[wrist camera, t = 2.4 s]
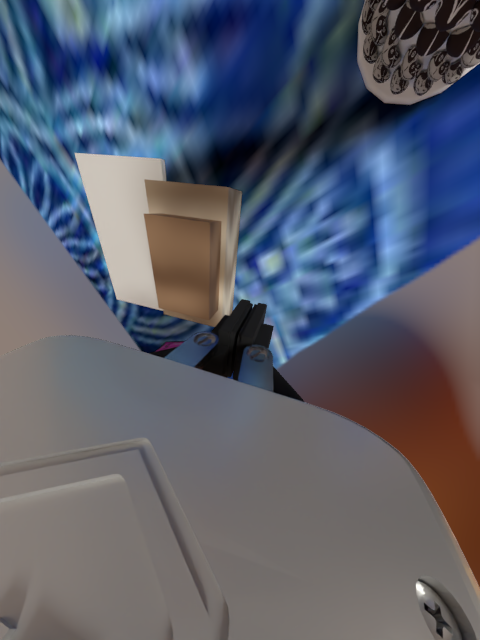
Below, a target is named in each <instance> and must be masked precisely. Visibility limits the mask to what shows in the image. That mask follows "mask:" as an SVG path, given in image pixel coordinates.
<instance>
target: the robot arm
mask: <svg viewBox="0 0 480 640" xmlns="http://www.w3.org/2000/svg"><path fill="white" fill-rule="evenodd" d="M252 306H253V304H251V303H250V301H248V300H243V299H242V300H241V301H240V302H239V304H238V305H237V306H236V308H235V309H234V310H233V312H232V313H231V314H230V316H229V315H224V316H223V318H222V319H221V320H220V321H219V323H218V324H217V325H216V326H215V328H214V329H213V330H212V331H211V332H206V331H204V332H198V333H196V334H194V335H193V336H191V337H190V338H189V339H187V340H186V341H185V342H184V343H182V344H181V345H180V346H178V347H174V348H169V349H165V350H160V351H156V352H151V353H146V352H142V351H139V350H136V349H132V348H129V347H126V346H123V345H119V344H116V343H112V342H108V341H104V340H101V339H96V338H91V337H84V336H70V335H69V336H54V337H47V338H44V339H40V340H38V341H35V342H32V343H30V344H27V345H25V346H23V347H20V348H18V349H15V350H13V351H11V352H9V353H6V354H4V355H2V356H0V640H480V588H479V586H478V583H477V582H476V580H475V578H474V575H473V573H472V571H471V569H470V567H469V565H468V563H467V561H466V559H465V557H464V555H463V553H462V551H461V549H460V546H459V545H458V542H457V540H456V538H455V537H454V535H453V533H452V531H451V529H450V527H449V525H448V523H447V521H446V519H445V517H444V515H443V514H442V512H441V510H440V508H439V506H438V505H437V503H436V501H435V499H434V497H433V496H432V494H431V492H430V490H429V489H428V487H427V486H426V484H425V483H424V481H423V479H422V478H421V477H420V475H419V474H418V472H417V471H416V469H415V468H414V467H413V466H412V465H411V463H410V462H409V461H408V460H407V459H406V458H405V457H404V456H403V455H402V454H401V453H400V452H399V451H398V450H397V449H395V448H394V447H393V446H392V445H390V444H389V443H388V442H386V441H385V440H384V439H382V438H381V437H379V436H378V435H376V434H375V433H373V432H371V431H370V430H368V429H367V428H365V427H363V426H361V425H359V424H358V423H356V422H354V421H351V420H350V419H348V418H345V417H343V416H341V415H338V414H336V413H334V412H331V411H328V410H325V409H322V408H320V407H316V406H314V405H311V404H308V403H305V402H304V401H303V399H302V398H301V397H300V396H299V395H298V394H297V392H296V391H295V390H294V389H293V388H292V387H291V386H290V385H289V384H288V383H287V381H286V380H285V379H284V378H283V377H282V376H281V375H280V373H279V372H278V371H277V370H276V369H275V368H274V367H273V355H272V353H271V351H270V350H269V349H268V348H269V344H270V340H271V336H272V331H273V327H274V326H271V325H267V324H263V323H264V318H265V313H266V308H267V305H266V304H261V303H258V305H256V304H255V305H254V307H253V309H252ZM233 371H234V372H233ZM232 373H233V378H234V379H229V378H227V377H231V375H232Z"/></svg>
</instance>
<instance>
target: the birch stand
mask: <svg viewBox="0 0 480 640" xmlns="http://www.w3.org/2000/svg"><path fill="white" fill-rule="evenodd" d="M144 181H145V188H146V195H147V202H148V208H149V214H156V213H163V214H171V215H178V216H186V217H193V218H201V219H208V220H216V221H222V223H221V251H220V279H219V306H218V311H217V312H216V313H215V314H214V315H213V317H212V318H211V319H210V320H205V319H201V318H197V317H193V316H189V315H185V314H181V313H177V312H173V311H169V310H165V309H163V311H164V314H166V315H170V316H174V317H178V318H182V319H185V320H189V321H193V322H197V323H201V324H205V325H209V326H213V327H215V326H216V325H217V324H218V323H219V321H220V320H221V319H222V318H223V316H224V315H229V316H230V314H231V313H232V308H233V296H234V284H235V272H236V260H237V248H238V236H239V224H240V212H241V200H242V191H239V190H236V189H233V188H230V187H222V186H211V185H200V184H189V183H179V182H168V181H157V180H147V179H144Z"/></svg>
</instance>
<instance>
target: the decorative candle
mask: <svg viewBox="0 0 480 640" xmlns="http://www.w3.org/2000/svg"><path fill="white" fill-rule="evenodd" d="M357 63H358V66H359V69H360V72H361V74H362V77H363V80H364V83H365V86H366V89H368V90H369V91H370V92H371V93H373V94H374V95H375V96H376V97H378V98H379V99H380V100H381V101H382V102H384V103H390V104H404V105H411V104H414V103H416V102H419V101H421V100H424V99H426V98H429V97H432V96H434V95H437V94H439V93H442V92H443V91H444V90H445V89H447V88H448V87H449V86H451V85H452V84H453V83H455V82H456V81H458V80H459V79H460V78H461V77H462V76H464V75H465V74H466V73H468V72H469V71H470V70H472V69H473V68H474V67H475V66H477V65H478V64H479V63H480V0H365V2H364V6H363V9H362V13H361V16H360V20H359V23H358V48H357Z"/></svg>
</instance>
